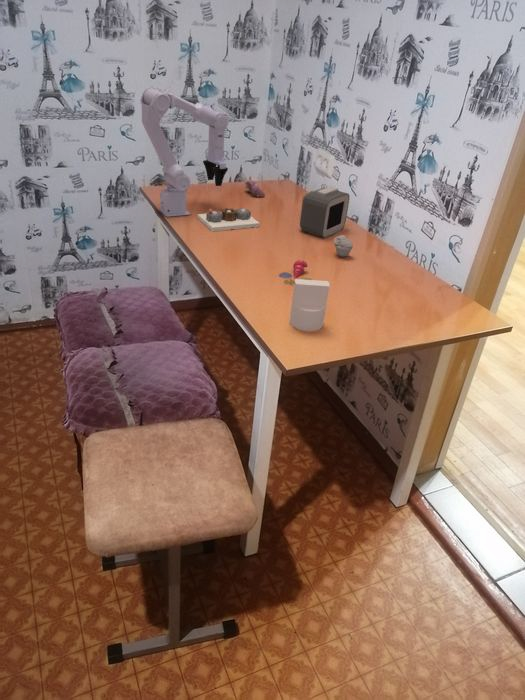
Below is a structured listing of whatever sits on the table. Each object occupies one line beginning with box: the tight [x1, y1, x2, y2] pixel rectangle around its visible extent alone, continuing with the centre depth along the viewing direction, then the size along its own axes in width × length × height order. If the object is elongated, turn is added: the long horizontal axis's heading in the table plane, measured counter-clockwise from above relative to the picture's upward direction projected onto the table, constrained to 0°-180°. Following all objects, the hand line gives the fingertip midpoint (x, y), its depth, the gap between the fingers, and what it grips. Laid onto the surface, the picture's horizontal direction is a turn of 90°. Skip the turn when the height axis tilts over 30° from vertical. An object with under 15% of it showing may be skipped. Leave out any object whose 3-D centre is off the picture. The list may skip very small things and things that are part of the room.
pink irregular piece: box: [245, 179, 266, 198], centre depth 242 cm, size 10×5×7 cm, turn 26°
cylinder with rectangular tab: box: [289, 278, 330, 332], centre depth 150 cm, size 9×9×12 cm
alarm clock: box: [299, 185, 350, 239], centre depth 210 cm, size 16×11×16 cm
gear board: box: [197, 207, 261, 233], centre depth 210 cm, size 19×14×6 cm
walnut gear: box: [220, 208, 237, 221], centre depth 210 cm, size 6×6×3 cm
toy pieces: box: [278, 259, 312, 287], centre depth 175 cm, size 12×11×4 cm
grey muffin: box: [333, 234, 354, 258], centre depth 193 cm, size 6×7×7 cm
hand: (214, 182), depth 219 cm, fingers open, 7 cm apart
